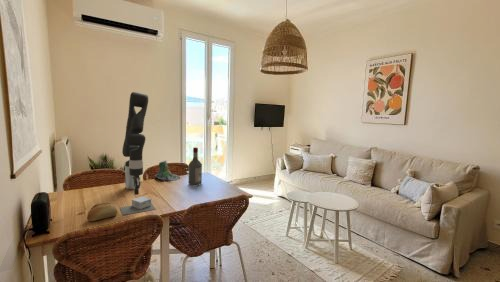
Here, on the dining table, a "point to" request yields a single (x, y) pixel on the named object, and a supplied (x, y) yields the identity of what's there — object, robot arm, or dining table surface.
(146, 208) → the mat
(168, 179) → the tree stump
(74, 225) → the dining table surface
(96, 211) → the bread roll
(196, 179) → the liquor
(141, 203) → the medicine box
